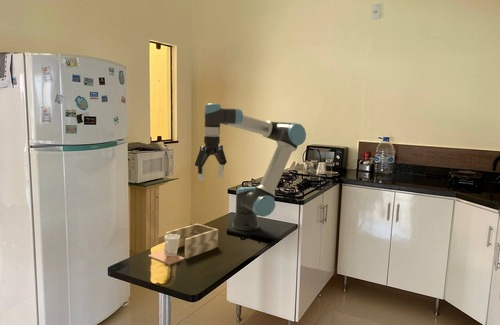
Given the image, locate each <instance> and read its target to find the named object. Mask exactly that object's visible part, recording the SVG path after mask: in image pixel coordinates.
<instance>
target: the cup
mask: <svg viewBox="0 0 500 325" xmlns="http://www.w3.org/2000/svg"><path fill="white" fill-rule="evenodd" d="M179 239H180V235H177V234H169V235H165V234H164V248H163V250H164V253H165V255H167V256H175V255H178V249H179V248H178V245H179ZM166 250H167V253H166Z"/></svg>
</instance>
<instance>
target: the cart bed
mask: <svg viewBox="0 0 500 325" xmlns="http://www.w3.org/2000/svg"><path fill="white" fill-rule="evenodd" d="M169 234H177V235H180V239H179V245H178V249H179V248H181V247H184V258H185V260H186V259H190V258H193V257H196V256H198V255H200V254H203V253H206V252H208V251H211V250H214V249H216V248H218V247H219V244H218V243H219V229H218V228H215V227H211V226H207V225H204V224H200V223H194V224H191V225H187V226H183V227H179V228H177V229H173V230H169V231H166V232H165V233H164V236H165V235H169ZM166 251H167V250H166Z"/></svg>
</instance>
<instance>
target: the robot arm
mask: <svg viewBox="0 0 500 325" xmlns="http://www.w3.org/2000/svg"><path fill="white" fill-rule="evenodd" d="M221 125H225V126H228V127H232V128H236V129H240V130H243V131H246V132H247V131H248V132H252V133H255V134H259V135H262V137H264V138H266V139H269V140H272V141H275V142H276V144H277V146H276V149H275V151H274V153H273V154H272V157H271V160H270V162H269V164H268V165H267V168H266V171H265V172H264V174H263V176H262V179H261V182H260V184H259V185H257V186H243V187H241V186H240V187H238V188H237V189H236V196H235V197H236V198H235V214H234V217H233V221H232V225H231V226H232V229H234V230H238V231H244V232H245V231H247V232H248V231H255V230H258V229H259V226H260V222H259V220H258V216H259V217H267V216H268V217H269V216H270V215H271V214H272V213H273V212H274V210H275V208H276V200H275V197H276V192H275V191H276V190H277V187H278V184H279V182H280V181H281V177H282V176H283V173H284V171H285V168H286V167H287V164H288V162H289V159H290V157H291V155H292V154H293V152H296V151H297V149H298V146H300V145H303V144H304V142H305V141H306V139H307V132H306V129H305V128H304V125H302V124H301V123H297V122H282V121H281V122H279V121H278V122H277V121H271V120H266V121H264V120H260V119H257V118H254V117H252V116H248V115H244V113H243V111H242V109H240V108H223V107H222V105H221V104H220V103H206V104H205V107H204V131H203V132H204V136H203V137H204V138H203V143H204V145H205V146H203V145H201V146H199V152H198V155H197V157H196V160H195V162H194V166H196V167H197V174H198V181H202V182H204V181H205V167H204V166H205V163H206V162H207V160H208V159H209V157H210V156H214V157H215V159H216V161H217V163H218V164H217V178H222V179H223V178H224V166H225V165H226V164H227V162H228V161H227V158H226V154H225V151H224V146H223V145H221V144H220V143H221V142H220V141H221V140H220V139H221V138H220V135H221Z"/></svg>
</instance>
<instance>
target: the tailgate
mask: <svg viewBox="0 0 500 325" xmlns="http://www.w3.org/2000/svg"><path fill="white" fill-rule="evenodd" d="M166 253H167V251H166ZM147 257H149V258H150V259H153V260H156V261H158V262H161V263H163V264H166V265H169V266H171V265H173V264H176V263H178V262H181V261H184V260H186V258H185V257H183V256H180V255H178V254H177V255H175V256H167V255H165V253H164V249H163V250H160V251H157V252H154V253H152V254H148V256H147Z"/></svg>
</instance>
